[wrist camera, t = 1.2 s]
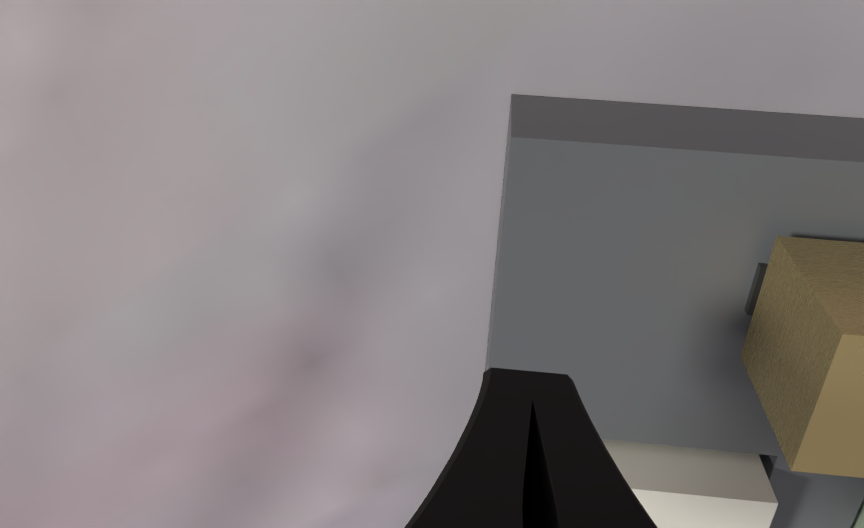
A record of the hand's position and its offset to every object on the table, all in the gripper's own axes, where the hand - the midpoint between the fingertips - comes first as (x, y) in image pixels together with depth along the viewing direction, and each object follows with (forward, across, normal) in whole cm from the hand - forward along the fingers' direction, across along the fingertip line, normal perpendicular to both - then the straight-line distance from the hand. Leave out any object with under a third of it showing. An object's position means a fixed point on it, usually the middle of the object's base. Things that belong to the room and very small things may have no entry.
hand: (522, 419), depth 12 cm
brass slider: (+5, -6, 0) cm, 8 cm away
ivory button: (+6, -5, +7) cm, 10 cm away
